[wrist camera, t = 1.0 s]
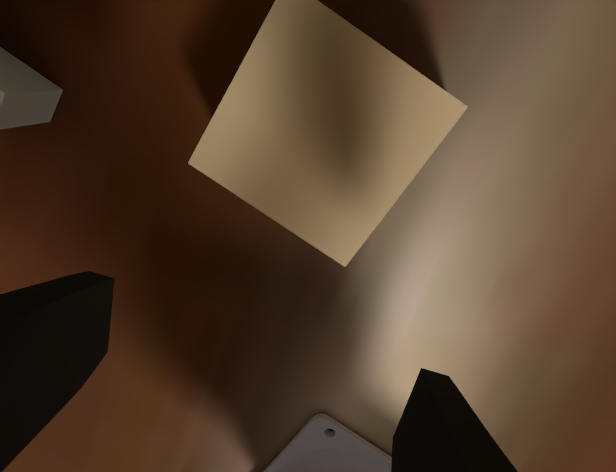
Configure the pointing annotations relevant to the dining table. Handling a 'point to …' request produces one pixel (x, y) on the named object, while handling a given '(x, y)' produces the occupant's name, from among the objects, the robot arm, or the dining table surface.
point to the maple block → (323, 127)
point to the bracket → (24, 94)
